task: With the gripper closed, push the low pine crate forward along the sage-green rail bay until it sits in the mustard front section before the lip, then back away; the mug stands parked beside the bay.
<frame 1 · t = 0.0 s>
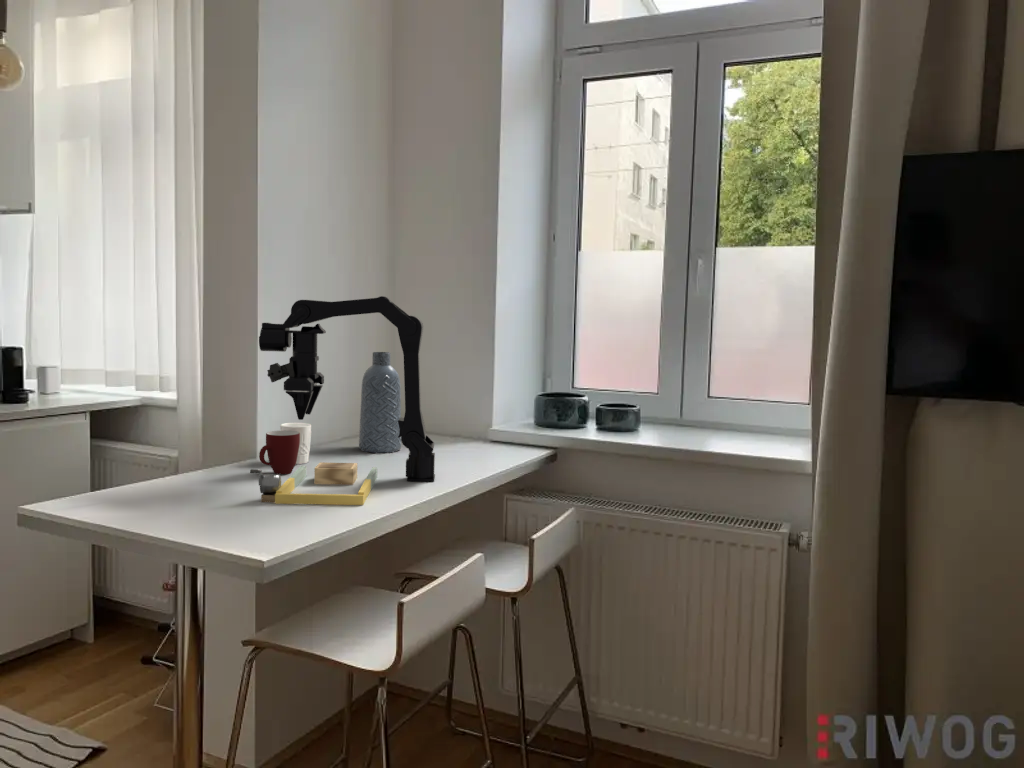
hand: (304, 416, 200), 15 cm above the table, fingers open, 9 cm apart
mug: (279, 474, 204), on the table
vase: (380, 450, 241), on the table
winch: (270, 500, 177), on the table
white cup: (295, 462, 219), on the table
crate: (336, 482, 198), on the table
bay: (338, 477, 202), on the table
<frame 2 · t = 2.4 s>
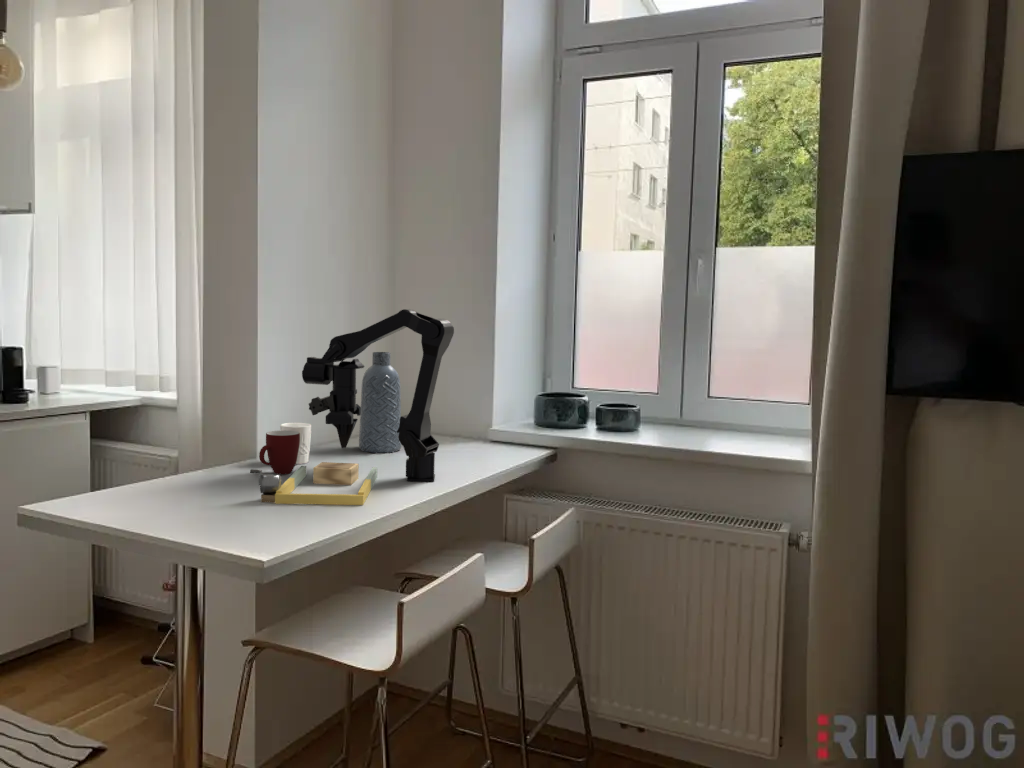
hand: (343, 447, 208), 6 cm above the table, fingers closed
nothing on the table moved.
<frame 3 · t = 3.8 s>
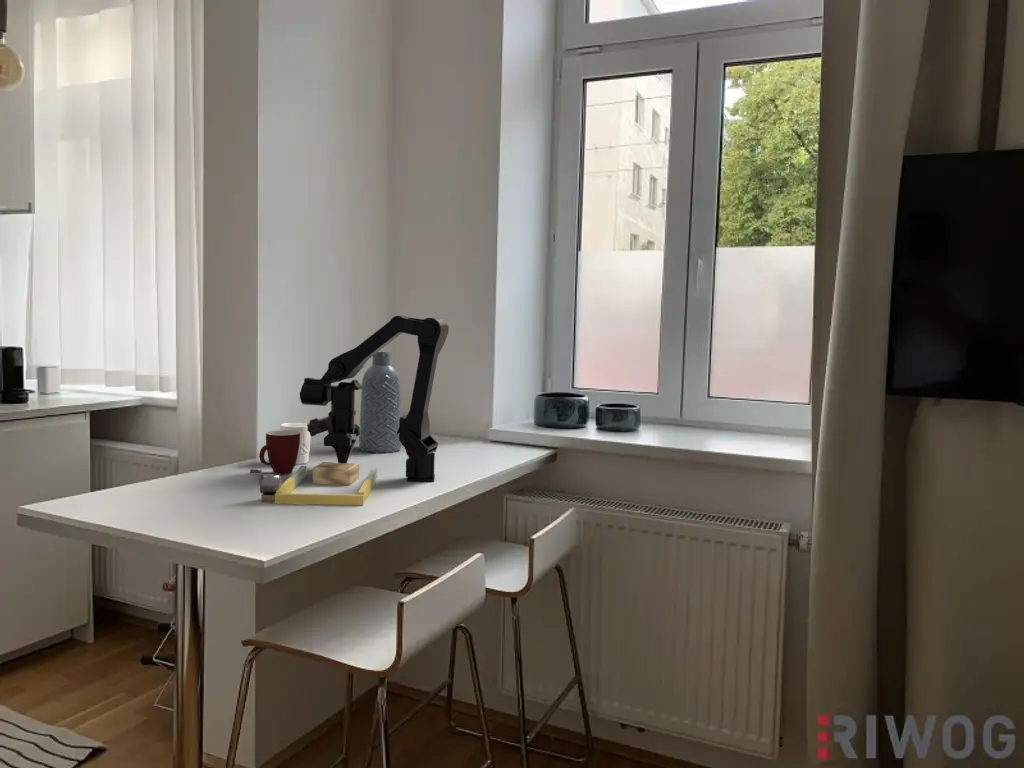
hand: (342, 468, 207), 1 cm above the table, fingers closed
nothing on the table moved.
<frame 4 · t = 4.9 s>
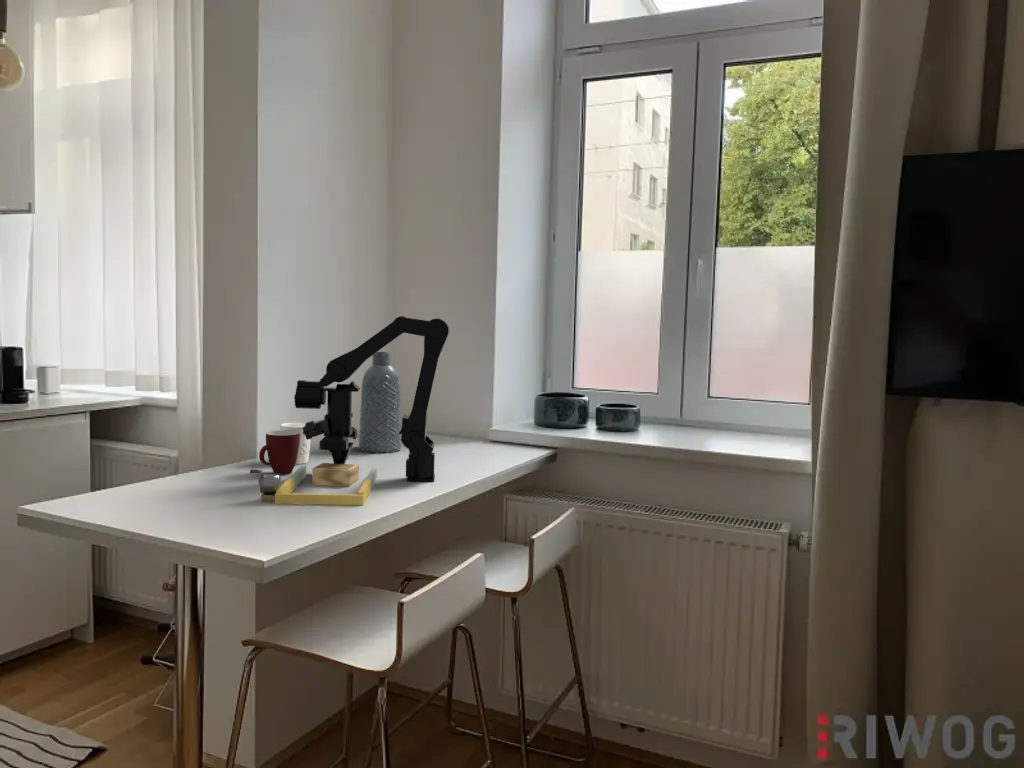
hand: (338, 473, 202), 1 cm above the table, fingers closed
crate: (335, 483, 196), on the table
everything else where it was.
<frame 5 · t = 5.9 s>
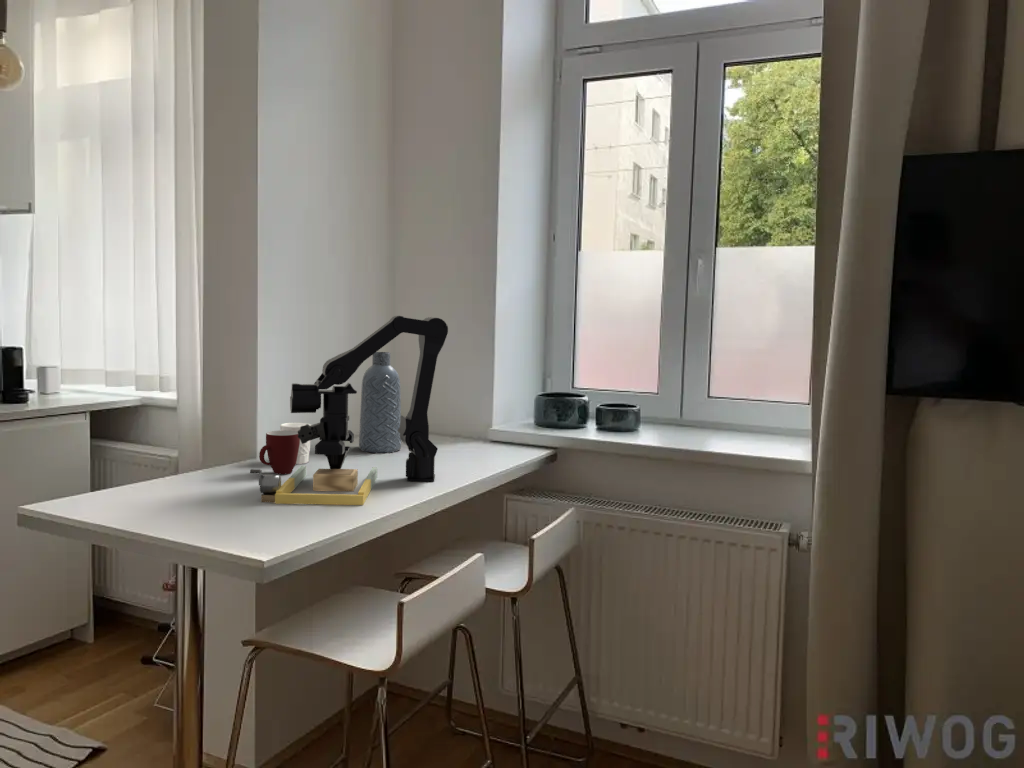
hand: (334, 477, 196), 1 cm above the table, fingers closed
crate: (335, 489, 191), on the table, touching gripper
everything else where it was.
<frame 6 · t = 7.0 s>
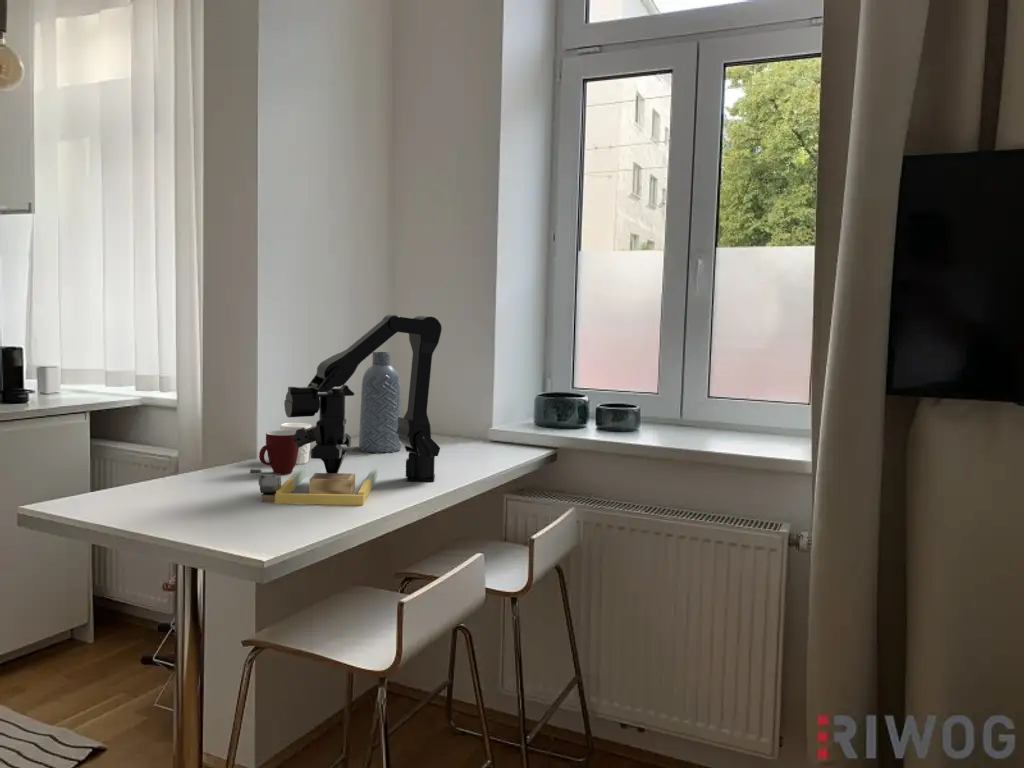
hand: (331, 482, 191), 1 cm above the table, fingers closed
crate: (332, 494, 186), on the table, touching gripper
everything else where it was.
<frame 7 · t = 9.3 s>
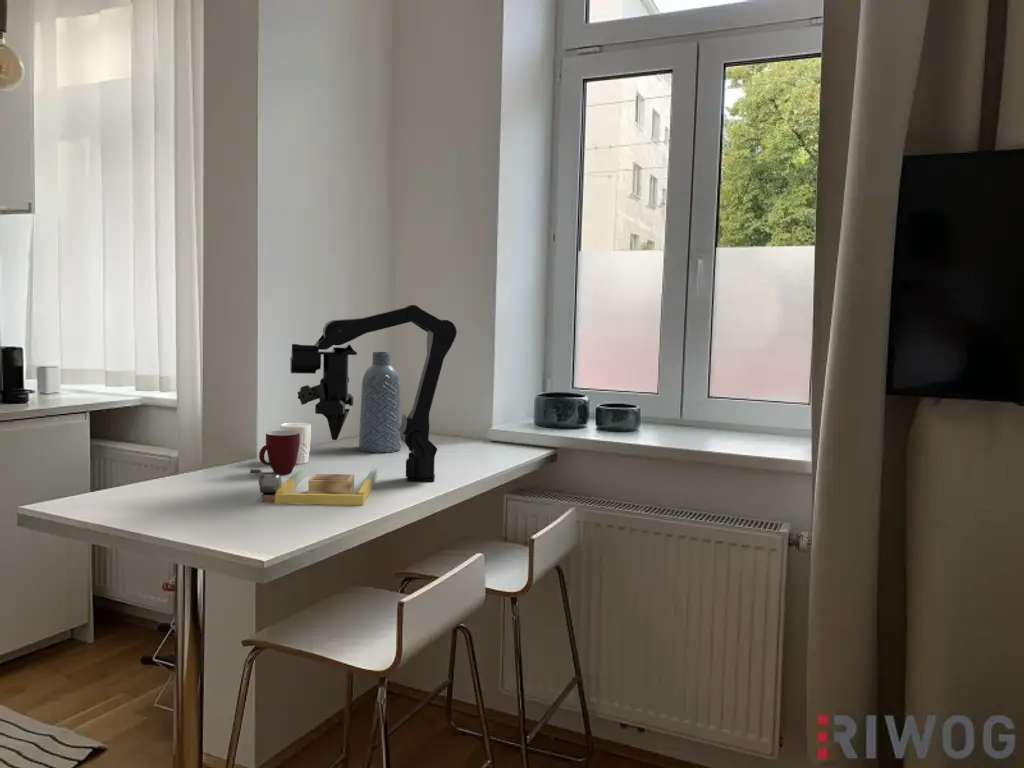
hand: (334, 439, 195), 10 cm above the table, fingers closed
crate: (331, 495, 185), on the table
everything else where it was.
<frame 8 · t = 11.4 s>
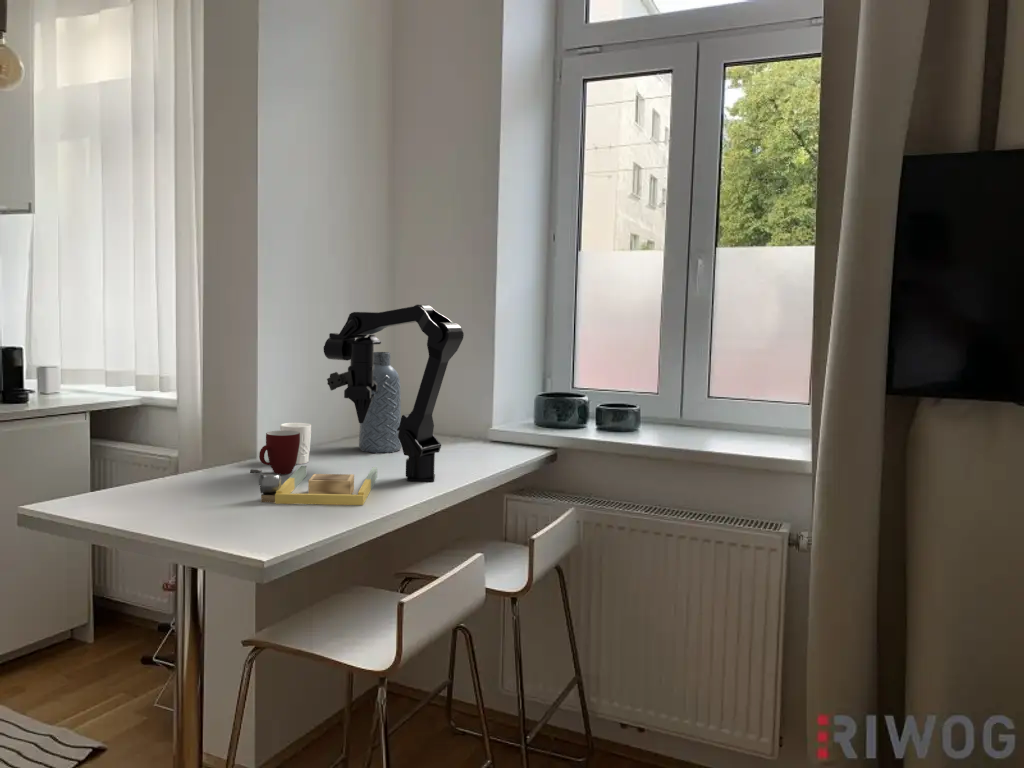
hand: (361, 422, 211), 12 cm above the table, fingers closed
nothing on the table moved.
at the end: crate inside the target area (1.8 cm from its centre), on the table; crate tilted 0°; crate moved 13.2 cm from its start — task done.
